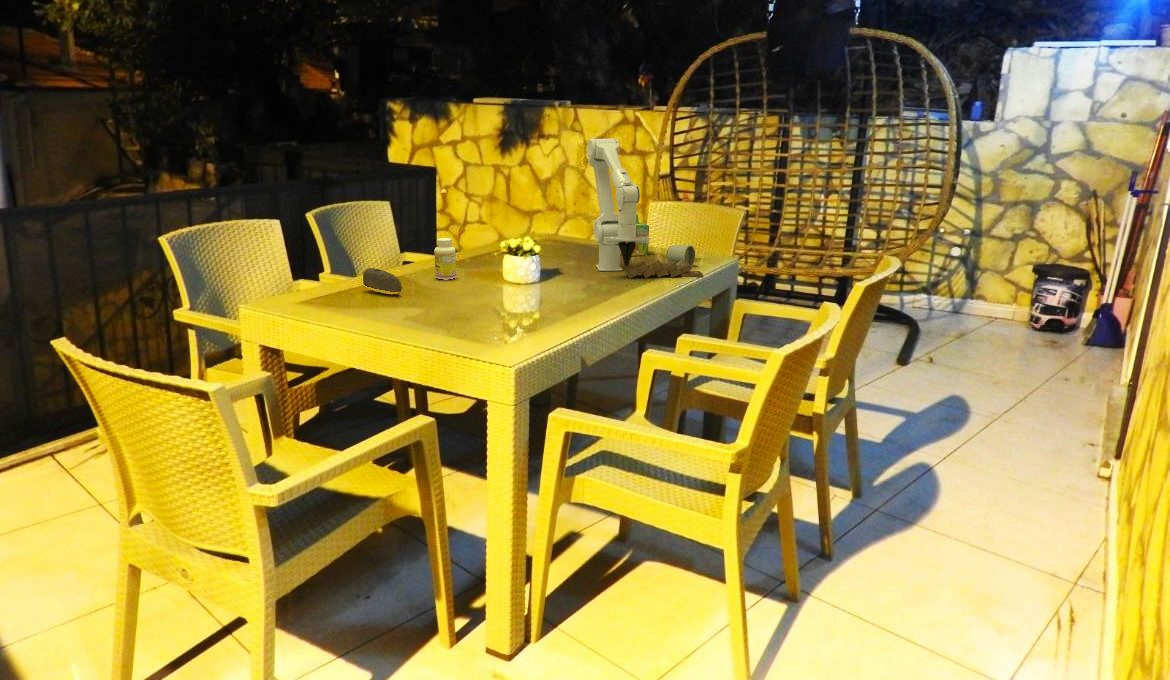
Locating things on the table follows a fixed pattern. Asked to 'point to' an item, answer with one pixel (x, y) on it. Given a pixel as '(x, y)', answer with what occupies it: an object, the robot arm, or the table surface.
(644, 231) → the chalk box
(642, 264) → the tile
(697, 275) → the tile
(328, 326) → the table surface
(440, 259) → the supplement bottle
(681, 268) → the tile
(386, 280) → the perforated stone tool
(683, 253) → the grey hollow cylinder
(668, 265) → the tile
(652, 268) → the tile
